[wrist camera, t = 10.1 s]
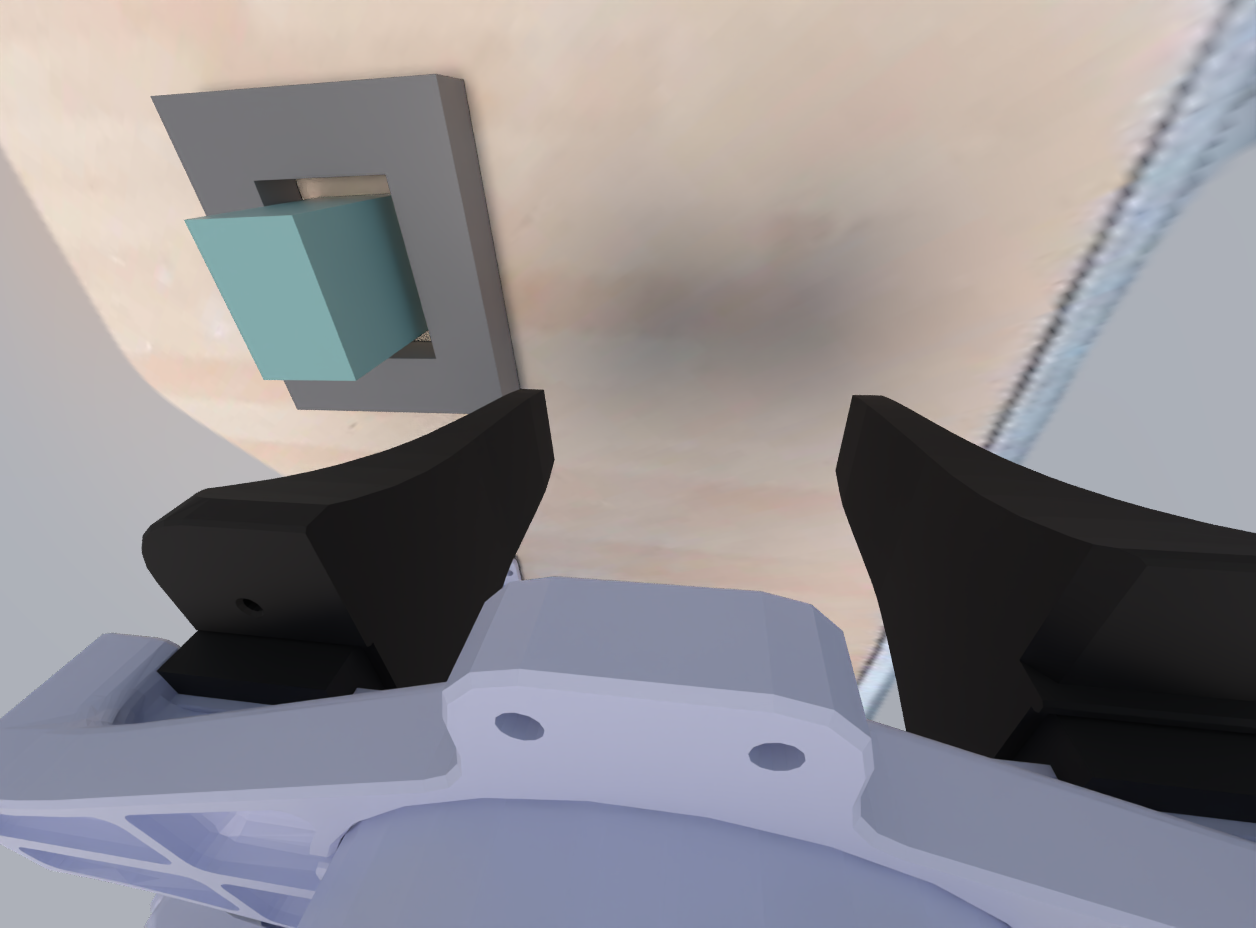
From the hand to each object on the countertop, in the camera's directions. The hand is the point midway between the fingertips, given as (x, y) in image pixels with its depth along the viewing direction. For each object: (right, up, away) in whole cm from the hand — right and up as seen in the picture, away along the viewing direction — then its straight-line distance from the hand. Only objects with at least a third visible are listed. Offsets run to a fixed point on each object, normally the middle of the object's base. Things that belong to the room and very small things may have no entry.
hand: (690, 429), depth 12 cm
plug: (-12, +7, +8) cm, 16 cm away
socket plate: (-12, +7, +8) cm, 16 cm away
